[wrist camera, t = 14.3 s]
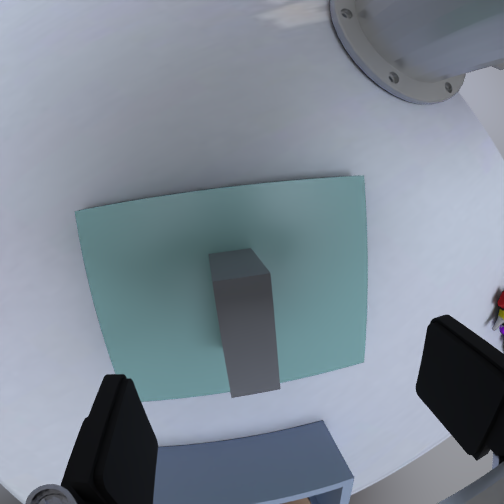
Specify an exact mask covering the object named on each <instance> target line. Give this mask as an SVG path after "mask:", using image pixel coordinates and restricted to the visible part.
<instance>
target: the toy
mask: <svg viewBox="0 0 504 504" xmlns="http://www.w3.org/2000/svg"><path fill="white" fill-rule="evenodd" d="M498 306H500V310H499V314H498V319H497V321H496V322H495V324H494V326H493V327H492V330H494V331H495V330H496V329H497V328H498V327H499V326H500V327H499V329H500V332H501V333H502V334H503V335H504V291H503V292H502V294H501V296H500V298H499V300H498Z"/></svg>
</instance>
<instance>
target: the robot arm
mask: <svg viewBox="0 0 504 504" xmlns="http://www.w3.org/2000/svg"><path fill="white" fill-rule="evenodd" d="M330 12H331V17H332V22H333V24H334V27H335V30H336V32H337V35H338V37H339V39H340V40H341V42H342V44H343V46H344V48H345V49H346V51H347V52H348V53H349V55H350V56H351V57H352V59H353V60H354V62H355V63H356V64H357V65H358V66H359V67H360V68H361V69H362V70H363V71H364V73H365V74H366V75H367V76H368V77H370V78H371V79H372V80H373V81H374V82H376V83H377V84H378V85H379V86H380V87H382V88H383V89H385V90H386V91H388V92H390V93H391V94H393V95H394V96H397V97H399V98H401V99H403V100H406V101H408V102H413V103H417V104H434V103H439V102H443V101H445V100H448V99H450V98H452V97H453V96H454V95H455V94H456V93H457V92H458V91H459V89H460V87H461V86H462V84H463V81H464V78H465V74H466V73H468V72H471V71H475V70H478V69H482V68H486V67H489V66H492V67H495V68H497V69H499V70H503V69H504V0H330ZM416 392H417V395H418V396H419V397H420V398H421V400H422V401H423V402H424V403H425V404H426V405H427V407H428V408H429V409H430V410H431V411H432V412H433V414H434V415H435V416H436V417H437V418H438V419H439V421H440V422H441V423H442V424H443V425H444V427H445V428H446V429H447V430H448V431H449V432H450V434H451V435H452V436H453V437H454V438H455V440H456V441H457V442H458V443H459V444H460V446H461V447H462V448H463V449H464V450H465V452H466V453H467V454H469V455H472V456H473V457H474V458H475V459H476V460H478V459H480V458H482V457H483V456H485V455H486V454H488V452H489V451H490V449H491V450H492V451H493V465H492V466H493V467H492V470H491V471H490V472H489V473H487V474H485V475H484V476H482V477H481V478H480V479H478V480H476V481H475V482H473V483H472V484H470V485H468V486H467V487H465V488H464V489H462V490H460V491H458V492H457V493H455V494H453V495H451V496H450V497H448V498H446V499H445V500H442V501H441V502H439V503H437V504H504V354H503V353H502V352H500V351H499V350H498V349H496V348H495V347H493V346H492V345H491V344H489V343H488V342H487V341H485V340H484V339H482V338H481V337H480V336H478V335H477V334H475V333H474V332H473V331H471V330H470V329H468V328H467V327H466V326H464V325H463V324H461V323H460V322H458V321H457V320H456V319H454V318H453V317H451V316H450V315H443V316H440V317H437V318H434V319H432V321H431V322H430V324H429V325H428V327H427V333H426V339H425V344H424V350H423V355H422V360H421V365H420V370H419V375H418V379H417V383H416ZM157 454H158V443H157V439H156V436H155V434H154V432H153V430H152V427H151V425H150V423H149V420H148V418H147V415H146V413H145V411H144V408H143V406H142V403H141V401H140V398H139V395H138V393H137V390H136V388H135V385H134V382H133V380H132V379H131V378H128V379H127V377H126V376H125V375H124V374H111V375H105V377H104V379H103V381H102V383H101V386H100V388H99V391H98V393H97V396H96V398H95V401H94V403H93V406H92V408H91V411H90V414H89V416H88V417H87V418H85V420H84V421H83V423H82V426H81V429H80V431H79V434H78V437H77V439H76V442H75V445H74V448H73V450H72V453H71V456H70V459H69V462H68V465H67V468H66V471H65V474H64V477H63V480H62V483H61V486H59V485H55V484H47V485H43V486H40V487H38V488H36V489H35V490H33V491H32V492H31V494H30V495H29V496H28V498H27V500H26V504H153V497H154V485H155V474H156V463H157Z"/></svg>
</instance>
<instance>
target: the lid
mask: <svg viewBox="0 0 504 504" xmlns="http://www.w3.org/2000/svg"><path fill="white" fill-rule="evenodd" d="M75 216H76V223H77V228H78V234H79V240H80V245H81V250H82V255H83V260H84V265H85V269H86V274H87V278H88V282H89V286H90V291H91V295H92V298H93V302H94V306H95V310H96V313H97V317H98V321H99V324H100V327H101V331H102V334H103V337H104V341H105V344H106V347H107V350H108V353H109V356H110V359H111V362H112V365H113V368H114V371H115V373H116V374H124V375H125V376H126V377H127V379H128V378H131V379H132V380H133V382H134V385H135V388H136V390H137V393H138V395H139V398H140V401H141V402H144V401H157V400H168V399H179V398H188V397H196V396H204V395H212V394H219V393H226V392H231V397H232V398H233V397H239V396H245V395H251V394H257V393H262V392H268V391H273V390H278V389H280V383H282V382H287V381H292V380H296V379H301V378H305V377H309V376H314V375H318V374H322V373H326V372H330V371H334V370H338V369H341V368H345V367H349V366H352V365H356V364H360V363H363V362H364V356H365V340H366V321H367V283H368V256H367V218H366V198H365V183H364V176H341V177H326V178H312V179H300V180H288V181H277V182H267V183H257V184H248V185H239V186H230V187H222V188H214V189H206V190H198V191H191V192H184V193H177V194H170V195H163V196H157V197H150V198H144V199H138V200H132V201H126V202H120V203H115V204H109V205H104V206H98V207H93V208H88V209H83V210H78V211H75Z"/></svg>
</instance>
